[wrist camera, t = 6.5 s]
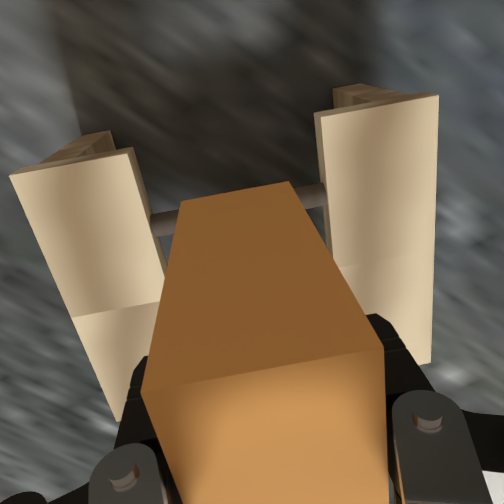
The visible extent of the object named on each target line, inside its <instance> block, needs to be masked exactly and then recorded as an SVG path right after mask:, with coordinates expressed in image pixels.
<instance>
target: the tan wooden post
mask: <svg viewBox="0 0 504 504" xmlns="http://www.w3.org/2000/svg"><path fill="white" fill-rule="evenodd" d="M140 393H141V396H142V398H143V401H144V403H145V406H146V409H147V411H148V414H149V416H150V419H151V422H152V424H153V427H154V429H155V432H156V435H157V437H158V440H159V442H160V445H161V448H162V450H163V453H164V455H165V458H166V461H167V463H168V466H169V468H170V471H171V474H172V476H173V479H174V481H175V484H176V487H177V489H178V492H179V494H180V497H181V499H182V502H183V504H389V490H388V459H387V429H386V398H385V367H384V346H383V345H382V343H381V341H380V339H379V338H378V336H377V334H376V332H375V331H374V329H373V327H372V325H371V324H370V322H369V320H368V318H367V317H366V315H365V313H364V312H363V310H362V308H361V306H360V305H359V303H358V301H357V299H356V298H355V296H354V294H353V292H352V291H351V289H350V287H349V285H348V284H347V282H346V280H345V278H344V277H343V275H342V273H341V271H340V270H339V268H338V266H337V264H336V263H335V261H334V259H333V257H332V256H331V254H330V252H329V250H328V249H327V247H326V245H325V243H324V242H323V240H322V238H321V236H320V235H319V233H318V231H317V229H316V228H315V226H314V224H313V222H312V221H311V219H310V217H309V215H308V214H307V212H306V210H305V208H304V207H303V205H302V203H301V201H300V200H299V198H298V196H297V194H296V193H295V191H294V189H293V187H292V186H291V184H290V182H289V181H286V182H281V183H275V184H270V185H265V186H259V187H254V188H249V189H243V190H238V191H233V192H227V193H222V194H217V195H211V196H206V197H201V198H195V199H190V200H185V201H181V204H180V208H179V213H178V218H177V223H176V227H175V232H174V237H173V241H172V246H171V251H170V256H169V260H168V265H167V270H166V274H165V279H164V284H163V289H162V293H161V298H160V303H159V307H158V312H157V317H156V322H155V326H154V331H153V336H152V340H151V345H150V350H149V355H148V359H147V364H146V369H145V373H144V378H143V383H142V388H141V392H140Z"/></svg>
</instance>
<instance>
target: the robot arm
mask: <svg viewBox="0 0 504 504" xmlns="http://www.w3.org/2000/svg"><path fill="white" fill-rule="evenodd" d="M366 317H367V318H368V320H369V322H370V324H371V325H372V327H373V329H374V331H375V332H376V334H377V336H378V338H379V339H380V341H381V343H382V345H383V346H384V367H385V398H386V429H387V459H388V472H389V474H390V477H391V479H392V482H393V484H394V501H395V504H504V416H502V415H490V414H479V413H472V412H468V411H465V410H462V409H460V407H459V406H458V405H457V404H456V403H455V402H454V401H452V400H451V399H450V398H448V397H446V396H444V395H442V394H440V393H437V392H435V390H434V389H433V387H432V386H431V384H430V383H429V381H428V380H427V378H426V377H425V375H424V373H423V372H422V370H421V369H420V367H419V366H418V364H417V363H416V361H415V360H414V358H413V356H412V355H411V353H410V352H409V350H408V349H406V346H405V344H404V342H403V341H402V339H401V338H399V335H398V333H397V332H396V330H395V329H394V327H393V325H392V324H391V323H390V322H389V321H387V320H386V319H384V318H383V317H381V316H380V315H378V314H377V313H374V314H368V315H366ZM147 359H148V356H144V357H143V358H142V359H141V361H140V362H139V364H138V365H137V366H136V368H135V369H134V370H133V374H132V378H131V382H130V389H129V390H128V394H127V398H126V399H127V401H126V402H125V406H124V410H123V414H122V418H121V422H120V426H119V430H118V434H117V438H116V442H115V446H114V450H113V451H111V452H110V453H108V454H107V455H106V456H105V457H104V458H103V459H102V460H101V461H100V462H99V463H98V464H97V465H96V467H95V469H94V470H93V472H92V474H91V477H90V480H89V482H88V483H86V484H85V485H83V486H81V487H80V488H78V489H76V490H74V491H72V492H70V493H67V494H65V495H63V496H61V497H59V498H57V499H55V500H53V501H51V502H49V503H47V501H46V500H45V498H44V497H43V496H42V495H41V494H39V493H36V492H22V493H19V494H16V495H13V496H11V497H9V498H7V499H6V500H4V501H2V502H1V503H0V504H183V502H182V499H181V497H180V494H179V492H178V489H177V487H176V484H175V481H174V479H173V476H172V474H171V471H170V468H169V466H168V463H167V461H166V458H165V455H164V453H163V450H162V448H161V445H160V442H159V440H158V437H157V435H156V432H155V429H154V427H153V424H152V422H151V419H150V416H149V414H148V411H147V409H146V406H145V403H144V401H143V398H142V396H141V393H140V392H141V388H142V383H143V378H144V373H145V369H146V364H147Z"/></svg>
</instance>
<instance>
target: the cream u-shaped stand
mask: <svg viewBox="0 0 504 504" xmlns="http://www.w3.org/2000/svg"><path fill="white" fill-rule="evenodd" d="M332 91H333V104H334V109H331V110H326V111H321V112H315V113H314V121H315V131H316V142H317V152H318V162H319V173H320V183H317V184H311V185H306V186H301V187H295V188H293V189H294V191H295V193H296V194H297V196H298V198H299V200H300V201H301V203H302V205H303V207H304V208H305V209H310V208H315V207H320V206H323V214H324V224H325V234H326V245H327V249H328V250H329V252H330V254H331V256H332V257H333V259H334V261H335V263H336V264H337V266H338V268H339V270H340V271H341V273H342V275H343V277H344V278H345V280H346V282H347V284H348V285H349V287H350V289H351V291H352V292H353V294H354V296H355V298H356V299H357V301H358V303H359V305H360V306H361V308H362V310H363V312H364V313H365V315H368V314H374V313H377V314H378V315H380V316H381V317H383V318H384V319H386V320H387V321H389V322H390V323H391V324H392V325H393V327H394V329H395V330H396V332H397V333H398V335H399V338H401V339H402V341H403V342H404V344H405V346H406V349H408V350H409V352H410V353H411V355H412V356H413V358H414V360H415V361H416V363H417V364H418V365H421V364H427V363H431V336H432V303H433V271H434V238H435V206H436V173H437V141H438V108H439V95H436V94H431V93H426V92H422V93H417V94H412V95H409V94H404V93H400V92H396V91H391V90H387V89H383V88H379V87H374V86H370V85H366V84H361V83H360V84H355V85H350V86H344V87H339V88H333V89H332ZM9 177H10V179H11V181H12V184H13V186H14V188H15V190H16V193H17V195H18V197H19V200H20V202H21V204H22V206H23V209H24V211H25V213H26V216H27V218H28V220H29V222H30V225H31V227H32V229H33V232H34V234H35V236H36V238H37V241H38V243H39V245H40V248H41V250H42V252H43V254H44V257H45V259H46V261H47V264H48V266H49V268H50V270H51V273H52V275H53V277H54V280H55V282H56V284H57V286H58V289H59V291H60V293H61V296H62V298H63V300H64V302H65V305H66V307H67V309H68V312H69V314H70V316H71V318H72V321H73V323H74V325H75V327H76V330H77V332H78V334H79V337H80V339H81V341H82V343H83V346H84V348H85V350H86V353H87V355H88V357H89V359H90V362H91V364H92V366H93V369H94V371H95V373H96V375H97V378H98V380H99V382H100V385H101V387H102V389H103V391H104V394H105V396H106V398H107V401H108V403H109V405H110V407H111V410H112V412H113V414H114V417H115V419H116V421H121V418H122V414H123V410H124V406H125V402H126V401H127V399H126V398H127V394H128V390H129V389H130V382H131V378H132V374H133V370H134V369H135V368H136V366H137V365H138V364H139V362H140V361H141V359H142V358H143V357H144V356H148V355H149V350H150V345H151V340H152V336H153V331H154V326H155V322H156V317H157V312H158V307H159V303H160V298H161V293H162V289H163V284H164V279H165V274H166V270H167V261H166V258H165V254H164V251H163V248H162V244H161V241H160V236H166V235H171V234H174V232H175V227H176V223H177V218H178V213H179V209H178V210H173V211H167V212H162V213H157V214H153V213H152V210H151V207H150V203H149V200H148V196H147V193H146V190H145V186H144V183H143V179H142V176H141V172H140V169H139V166H138V162H137V159H136V155H135V152H134V149H133V147H128V148H123V149H118V150H116V148H115V145H114V142H113V138H112V135H111V132H110V130H109V131H104V132H98V133H93V134H88V135H82V136H80V137H79V138H77V139H76V140H74V141H73V142H71V143H69V144H68V145H66V146H65V147H63V148H62V149H60V150H59V151H57V152H56V153H54V154H53V155H51V156H50V157H48V158H47V159H45V160H43V161H42V162H40V163H39V164H37V165H32V166H27V167H22V168H21V169H19V170H17V171H16V172H14V173H12V174H11V175H9Z"/></svg>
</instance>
